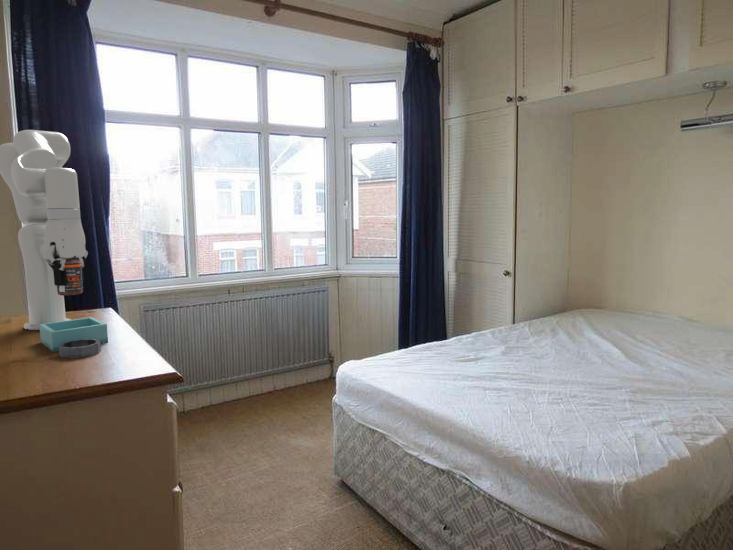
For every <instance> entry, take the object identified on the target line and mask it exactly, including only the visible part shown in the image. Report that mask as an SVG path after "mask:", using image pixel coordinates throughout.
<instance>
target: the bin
mask: <svg viewBox="0 0 733 550" xmlns="http://www.w3.org/2000/svg"><path fill="white" fill-rule="evenodd" d="M39 326H40V330H39V334H40V335H39V336H40V343H41V344H42V345H44V346H45V347H47V348H48V349H49V350H50V351H52V352H59V345H60V344H62V343H65V342H68V341H73V340H79V339H98V340H99V341H100V344H105V343H109V337H108V335H109V334H108V324H107V323H105V322H103V321H101V320H98V319H97V318H95V317H93V316H90V317H82V318H75V319H71V320H67V321H60V322H53V323H46V324H39Z"/></svg>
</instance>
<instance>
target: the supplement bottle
mask: <svg viewBox="0 0 733 550" xmlns="http://www.w3.org/2000/svg"><path fill="white" fill-rule="evenodd" d="M59 258H60V257H59ZM58 263H59V264H60V261H58ZM64 270H66V274H67V285H66V286H57V291H58V294H59V295H62V296H64V297H67V296H75V295H76V296H78V295H80V294H83V292H84V289H83V288H84V286H83V282H82V270H81V262H80V261H79V260H78V259H77V258H76V256H74V257H73V258H70V259H66V262H65V267H64Z"/></svg>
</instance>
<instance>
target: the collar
mask: <svg viewBox="0 0 733 550" xmlns="http://www.w3.org/2000/svg"><path fill="white" fill-rule="evenodd" d="M101 344H102V343H100V341H99V340H98V339H79V340H73V341H68V342H65V343H62V344H60V345H59V351H58V354H59V355H58V356H59V357H60V358H62V359H80V358H86V357H91V356H94V355H97V354H99V353H100V352H101V351H102V348H101V346H102V345H101Z"/></svg>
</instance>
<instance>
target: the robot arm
mask: <svg viewBox="0 0 733 550" xmlns="http://www.w3.org/2000/svg"><path fill="white" fill-rule="evenodd" d="M68 139H69V138H68V137H67V136H66V135H64V134H63V133H61V132H58V131H49V130H47V131H46V130H37V129H24V130H20V131H17V132H16V133H15V134H14V135H13V138H12V142H6V143H2V144H0V175H1V177H2V179H3V181H4V182H5V184H6V185H7V186H8V188H9V189H10V191H11V195H12V198H13V203H14V206H15V210H16V214H17V217H18V220H19V221H20V222H21V224H23V225H24V226H22V227H21V228H20V229H19V230H18V233H17V240H18V245H19V248H20V252H21V255H22V260H23V265H24V266H23V267H24V275H25V286H26V287H25V288H26V295H27V308H28V318H29V322H26V323H24V324H23V328H24V329H25V330H27V329H28V330H29V331H40V326H39V324H46V323H53V322H60V321H67V320H72V319H71V318H67V317H66V307H65V305H66V304H65V296H62V295H59V294H58V291H57V286H66V285H67V274H66V270H64V267H65V262H66V259H70V258H73V257H74V256H76V258H77V259H78V260H79V261H80V262H81V270H82V283H84V282H85V276H84V267H85V262H86V260H87V257H88V254H89V252H88V250H87V249H86V235H85V232H84V228H83V225H82V219H81V209H80V207H81V205H80V195H79V183H78V173H77V172H76V170H75V169H74V168H73V169H72V168H68V167H63V166H64V165H65V164H66V163H67V161H69V158H70V156H71V144H70V142H69V140H68ZM59 257H60V258H59ZM58 261H60V264H59V263H58Z"/></svg>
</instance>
